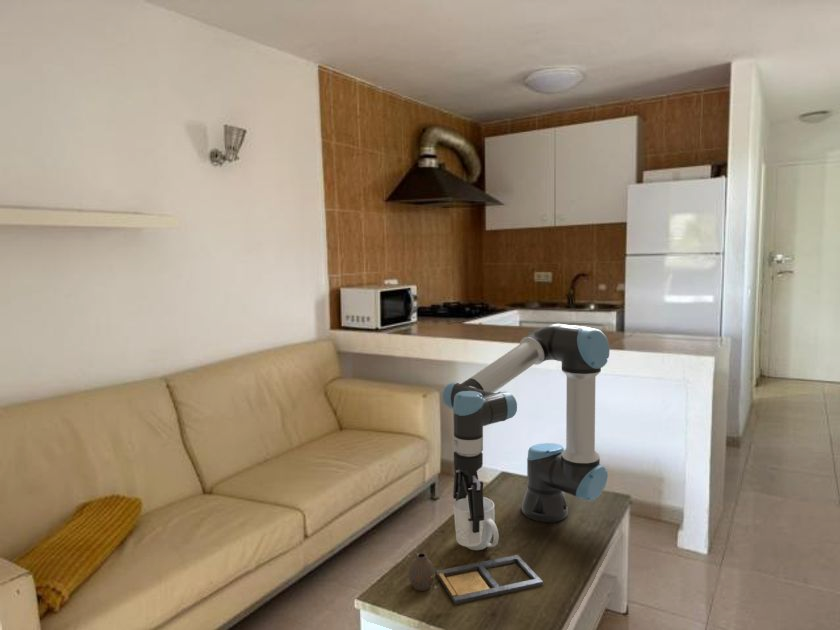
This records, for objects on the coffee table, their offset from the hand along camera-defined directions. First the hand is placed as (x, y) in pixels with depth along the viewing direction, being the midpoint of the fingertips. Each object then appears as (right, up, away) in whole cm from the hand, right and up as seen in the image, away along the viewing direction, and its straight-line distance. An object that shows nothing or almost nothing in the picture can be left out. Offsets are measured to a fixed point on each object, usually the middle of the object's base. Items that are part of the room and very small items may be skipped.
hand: (467, 534), depth 150 cm
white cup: (0, -2, 0) cm, 2 cm away
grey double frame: (+6, -13, +4) cm, 15 cm away
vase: (-12, -14, +1) cm, 19 cm away
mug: (+5, -12, +21) cm, 24 cm away
